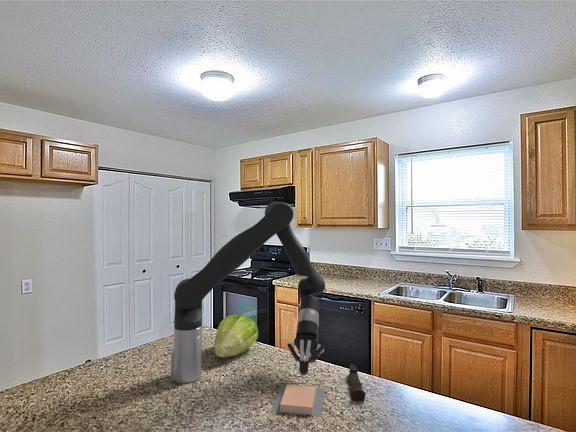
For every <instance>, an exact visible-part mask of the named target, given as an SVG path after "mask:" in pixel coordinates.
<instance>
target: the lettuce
mask: <svg viewBox="0 0 576 432" xmlns="http://www.w3.org/2000/svg"><path fill="white" fill-rule="evenodd" d="M258 339H259V329H258V326H257V323H256V321H255V320H253V319H252V318H251V317H249V316H247V315H245V314H242V313H240V314H232V315H228V316H226V317H224V318H223V319H222V320H221V321H220V322H219V325H218V327H217V331H216V334H215V337H214V342H213V346H214V350H215V351H214V352H215V355H216V356H217V357H220V358H230V357H231V358H232V357H235V356H237V355H240V354H243V353H245V352H246V351H247V350H248V349H249V348H251V347H252V345H254V344H255V342H256V341H257V340H258Z"/></svg>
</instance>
